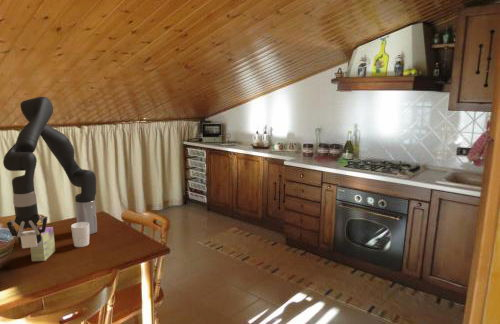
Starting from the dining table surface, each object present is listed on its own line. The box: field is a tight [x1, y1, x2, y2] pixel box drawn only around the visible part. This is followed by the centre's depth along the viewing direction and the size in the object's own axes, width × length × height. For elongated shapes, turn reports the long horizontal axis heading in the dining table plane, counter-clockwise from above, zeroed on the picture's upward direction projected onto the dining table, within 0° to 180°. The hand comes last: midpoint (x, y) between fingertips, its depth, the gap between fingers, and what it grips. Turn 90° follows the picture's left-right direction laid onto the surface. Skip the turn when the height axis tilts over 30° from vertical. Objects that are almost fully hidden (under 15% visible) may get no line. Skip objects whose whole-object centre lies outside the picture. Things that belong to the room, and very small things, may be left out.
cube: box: [21, 229, 38, 249], centre depth 143 cm, size 5×5×5 cm
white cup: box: [70, 222, 90, 248], centre depth 173 cm, size 8×8×10 cm
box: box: [29, 226, 56, 262], centre depth 160 cm, size 10×6×12 cm, turn 5°
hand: (30, 243), depth 143 cm, fingers closed on cube, 5 cm apart
